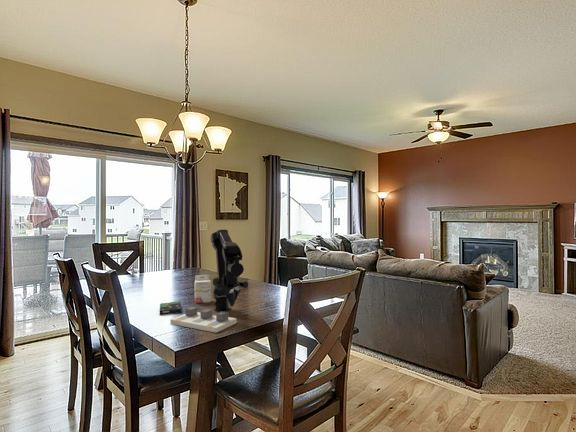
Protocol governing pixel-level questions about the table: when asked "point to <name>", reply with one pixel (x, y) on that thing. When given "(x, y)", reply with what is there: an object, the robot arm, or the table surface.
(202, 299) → the ink cartridge box
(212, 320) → the switch panel
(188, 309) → the tab
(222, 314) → the tab
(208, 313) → the tab middle
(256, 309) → the table surface
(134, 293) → the table surface
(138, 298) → the table surface
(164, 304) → the disk drive
